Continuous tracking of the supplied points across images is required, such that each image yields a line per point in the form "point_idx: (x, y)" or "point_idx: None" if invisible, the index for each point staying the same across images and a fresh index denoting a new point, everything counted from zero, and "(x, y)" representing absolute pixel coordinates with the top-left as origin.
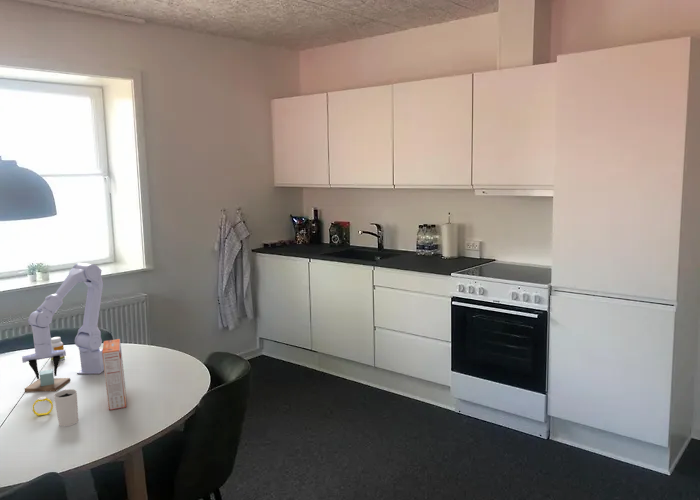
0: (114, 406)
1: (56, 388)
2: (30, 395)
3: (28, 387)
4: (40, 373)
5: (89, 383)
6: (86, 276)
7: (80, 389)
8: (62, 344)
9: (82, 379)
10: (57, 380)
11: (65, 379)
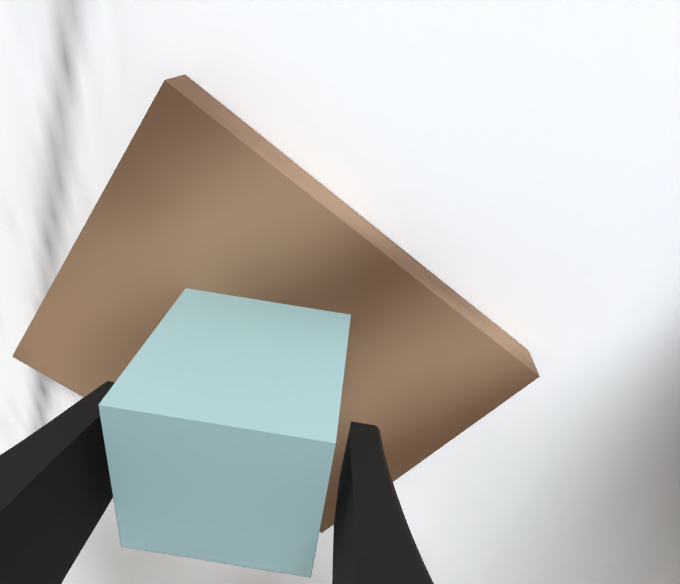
0: None
1: (330, 518)
2: None
3: (51, 352)
4: (127, 502)
5: (636, 524)
6: None
7: (506, 579)
8: None
9: (658, 391)
10: (385, 356)
11: (477, 386)
